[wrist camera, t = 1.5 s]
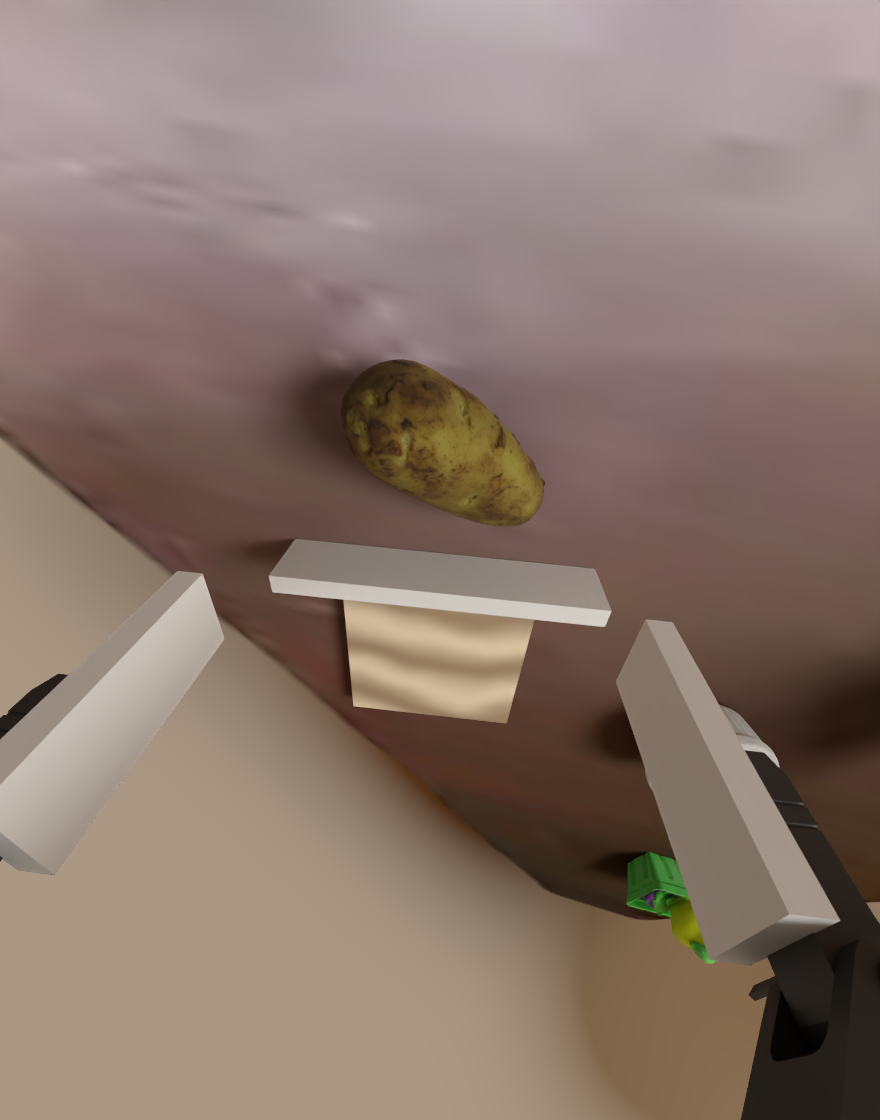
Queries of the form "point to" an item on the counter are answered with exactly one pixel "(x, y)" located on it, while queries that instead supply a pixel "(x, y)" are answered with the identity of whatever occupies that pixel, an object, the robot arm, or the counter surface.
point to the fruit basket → (665, 897)
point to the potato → (439, 444)
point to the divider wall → (442, 582)
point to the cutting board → (434, 660)
